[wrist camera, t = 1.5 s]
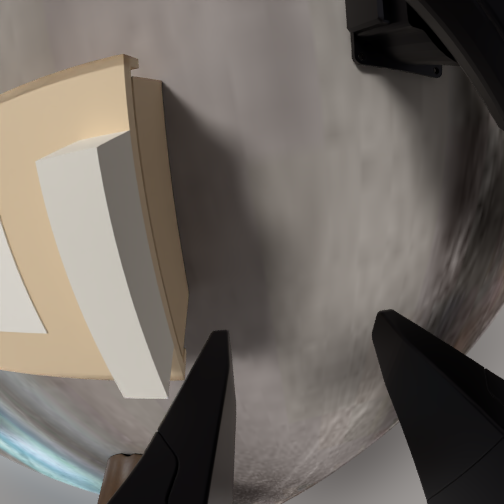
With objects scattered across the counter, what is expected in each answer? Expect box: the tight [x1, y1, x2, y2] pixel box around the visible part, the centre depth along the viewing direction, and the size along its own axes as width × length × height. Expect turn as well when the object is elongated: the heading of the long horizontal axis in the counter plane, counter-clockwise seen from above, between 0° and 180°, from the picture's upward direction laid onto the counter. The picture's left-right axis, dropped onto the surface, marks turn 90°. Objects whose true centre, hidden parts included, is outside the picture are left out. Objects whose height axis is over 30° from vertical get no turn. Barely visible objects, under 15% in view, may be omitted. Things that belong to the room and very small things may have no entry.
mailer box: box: [131, 77, 189, 356], centre depth 15 cm, size 16×14×6 cm
